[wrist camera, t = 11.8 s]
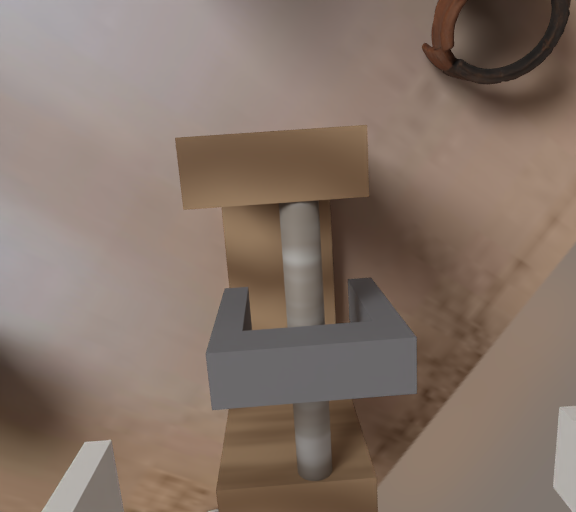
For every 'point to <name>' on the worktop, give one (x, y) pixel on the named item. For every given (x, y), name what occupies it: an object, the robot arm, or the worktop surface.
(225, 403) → the u piece
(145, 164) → the worktop surface
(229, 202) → the rack
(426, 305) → the worktop surface
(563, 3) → the brown looped piece
